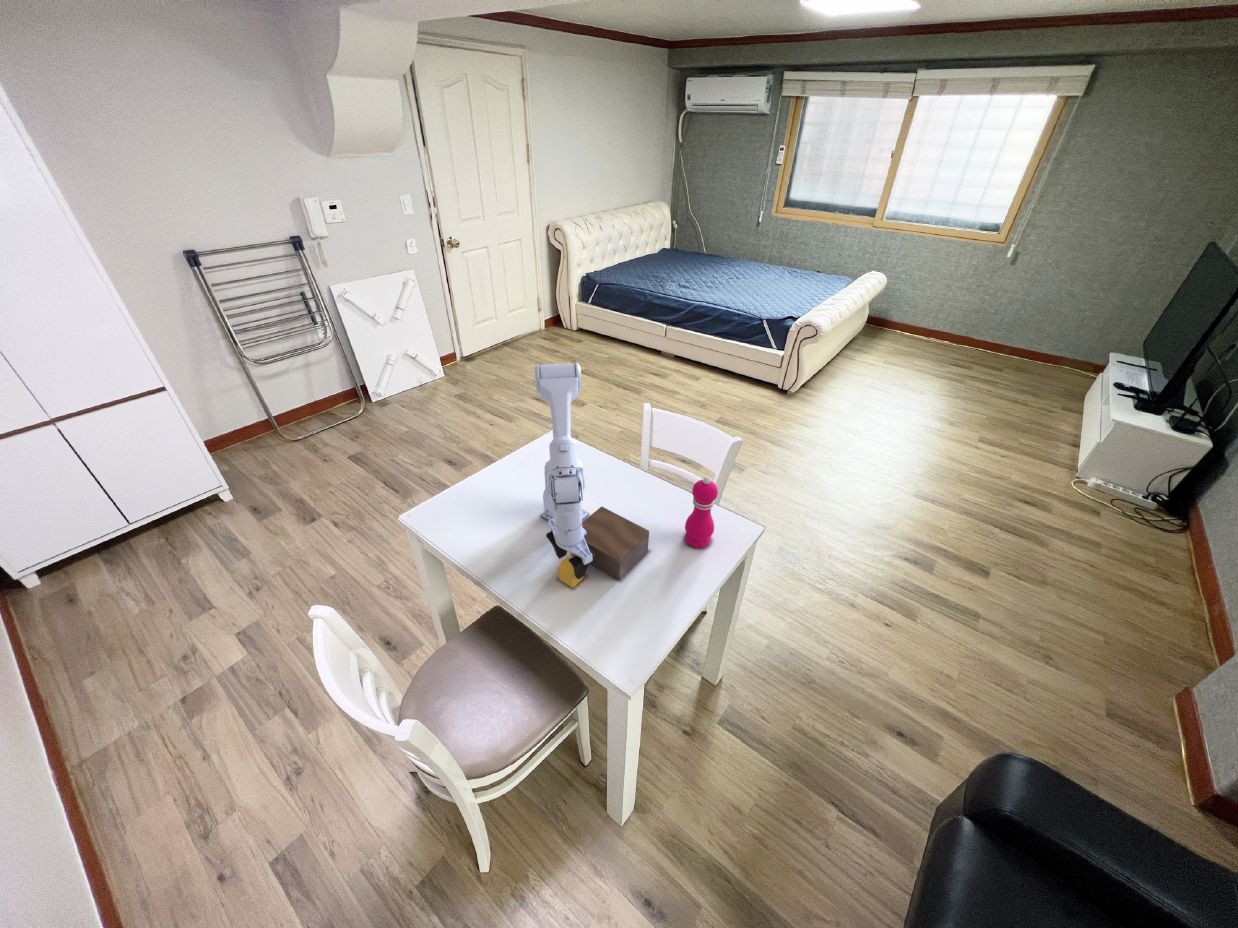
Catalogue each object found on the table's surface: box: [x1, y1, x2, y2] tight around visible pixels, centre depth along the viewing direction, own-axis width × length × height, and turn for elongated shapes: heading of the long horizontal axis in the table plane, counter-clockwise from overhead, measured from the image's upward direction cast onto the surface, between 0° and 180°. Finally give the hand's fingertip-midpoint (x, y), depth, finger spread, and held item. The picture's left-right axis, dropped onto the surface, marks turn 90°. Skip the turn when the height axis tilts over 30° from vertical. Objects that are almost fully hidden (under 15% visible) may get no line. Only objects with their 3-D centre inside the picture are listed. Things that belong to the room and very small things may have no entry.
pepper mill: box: [684, 476, 719, 549], centre depth 119 cm, size 7×7×20 cm
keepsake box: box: [588, 533, 650, 581], centre depth 119 cm, size 12×15×6 cm
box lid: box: [582, 506, 650, 563], centre depth 116 cm, size 12×15×1 cm
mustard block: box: [557, 554, 586, 589], centre depth 112 cm, size 4×4×4 cm
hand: (571, 566), depth 111 cm, fingers open, 7 cm apart
